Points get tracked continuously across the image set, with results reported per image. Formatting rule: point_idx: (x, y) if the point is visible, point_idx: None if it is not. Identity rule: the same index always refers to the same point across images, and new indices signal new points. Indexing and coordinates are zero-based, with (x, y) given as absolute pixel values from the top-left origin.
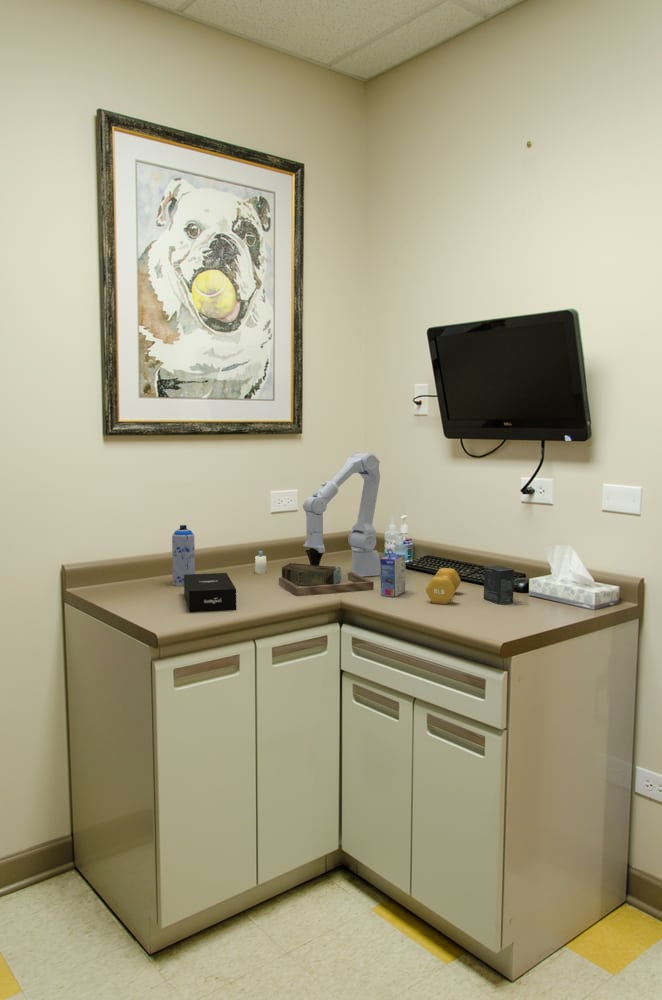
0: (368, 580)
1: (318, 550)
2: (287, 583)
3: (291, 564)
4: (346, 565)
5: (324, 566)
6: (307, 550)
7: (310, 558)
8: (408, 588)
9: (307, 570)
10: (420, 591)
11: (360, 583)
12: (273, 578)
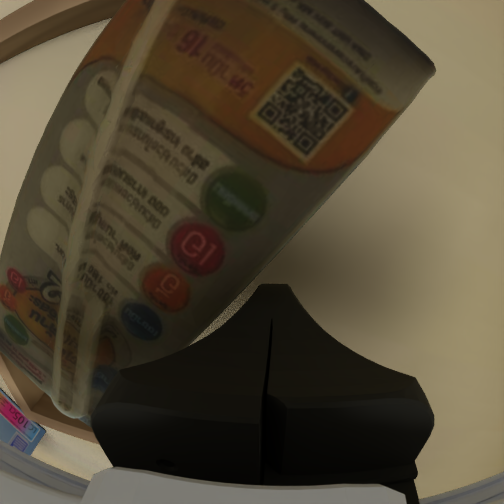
0: (49, 424)
1: (28, 469)
2: (29, 4)
3: (285, 16)
4: (487, 456)
5: (80, 359)
6: (248, 423)
7: (233, 341)
8: (69, 463)
9: (30, 167)
10: (41, 456)
11: (2, 375)
12: (465, 26)
